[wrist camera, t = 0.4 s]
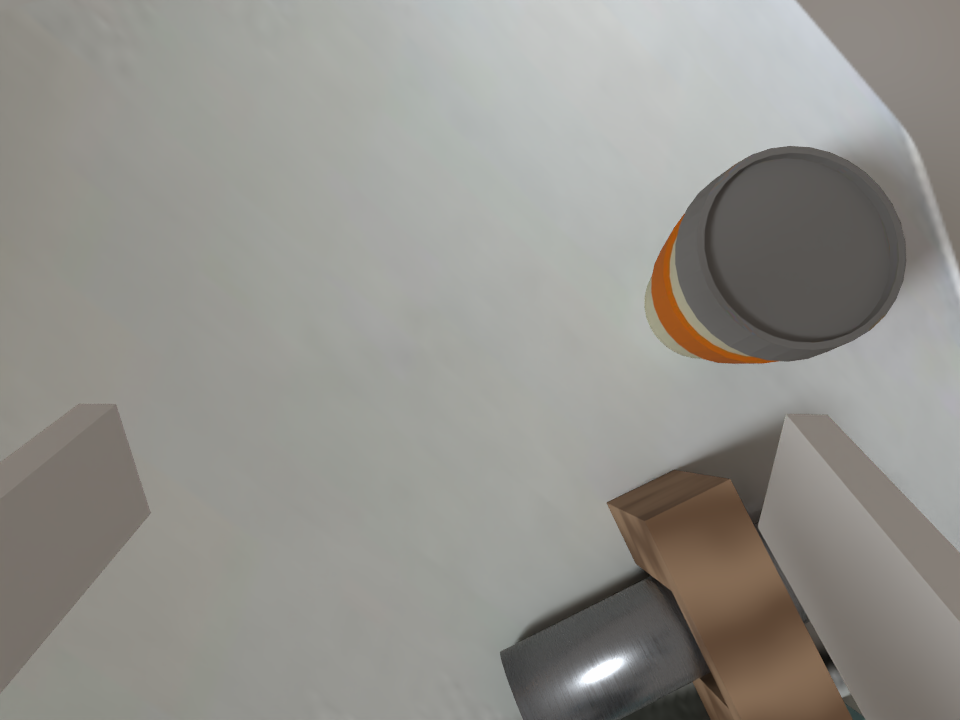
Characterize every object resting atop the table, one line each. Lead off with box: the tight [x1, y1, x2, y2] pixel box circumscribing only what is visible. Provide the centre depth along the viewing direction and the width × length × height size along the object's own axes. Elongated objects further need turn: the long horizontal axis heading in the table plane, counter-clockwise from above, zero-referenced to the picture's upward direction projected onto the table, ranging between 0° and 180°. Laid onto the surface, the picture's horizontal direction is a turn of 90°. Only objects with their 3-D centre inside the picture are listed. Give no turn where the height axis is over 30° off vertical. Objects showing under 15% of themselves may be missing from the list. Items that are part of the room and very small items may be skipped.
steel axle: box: [500, 522, 810, 720], centre depth 41 cm, size 24×7×7 cm, turn 115°
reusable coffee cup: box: [645, 146, 906, 364], centre depth 40 cm, size 13×13×15 cm
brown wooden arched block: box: [607, 470, 853, 720], centre depth 40 cm, size 18×6×10 cm, turn 25°
